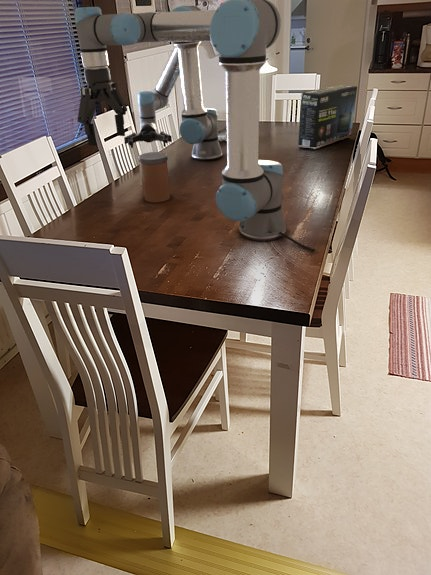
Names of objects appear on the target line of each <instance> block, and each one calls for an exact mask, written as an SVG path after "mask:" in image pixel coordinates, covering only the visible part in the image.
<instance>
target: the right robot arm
mask: <svg viewBox="0 0 431 575" xmlns="http://www.w3.org/2000/svg"><path fill="white" fill-rule="evenodd" d="M74 19H75V20H74V21H75V27H76V32H77V38H78V43H79V50H80V55H81V62H82V67H83V68H84V70H83V73H84V80H85V82H86V83H87V87H80V100H79V101H80V102H79V108H78V113H77V114H78V115H77V123H80V124H82V125H83V128H84V132H85V136H86V137H87V143H88V146H91V147H96V146H98V142H97V138H96V131H95V125H94V123H92V121H93V119H94V115H95V113H96V109H97V107H98V105H99V104H100V102H101V103H102V102H103V101H106V102H107V104H108V105H109V107H111V109H112V110H113V111H114V113H115V115H114V121H115V128H116V134H117V136H118V137H126V130H125V118H124V116H125V115H127V112H128V108H127V105H126V103H125V101H124V99H123V96H122V94H121V92H120V90H119V86H118V82H116V81H114V82H113V81H112V78H111V71H110V68H109V67H108V66H109V65H110V63H109V56H108V50H107V46H124V47H125V46H133V45H136V44H139V43H159V42H160V43H161V42H162V43H165V42H166V43H167V42H170V43H171V42H172V43H173V42H201V43H202V42H206V43H207V42H210V43H211V45H212V46H213V47H214V48H215V51H216V52H217V53H218V65H220V66H221V67H222V68H223V70H224V72H225V74H224V75H225V114H226V117H225V118H226V128H227V129H226V132H227V141H226V159H227V160H226V161H227V164H226V166H225V167H224V168H223V169H222V171H221V180H222V182H221V183H222V185H220V187H218V189H217V191H216V194H215V202H216V206H217V208H218V211H219V212H220V213H221V214H223V216H224V217H225V218H226V219H228V220H230V221H233V222H239V226H238V232H239V235H240V236H241V237H242V238H244V239H247V240H250V241H254V242H271V241H277V240H279V239H281V238H283V237H284V238H286V239H288V240H289V241H291V242H292V243H293V244H296V245H297V246H299V247H300V248H304V249H305V250H309V251H311V252H315V251H316V249H315V248H313V247H310V246H308V245H305V244H303V243H300V242H298V241H297V240H296V239H294V238H292V237H291V236H289V235H287V223H286V221H285V216H284V214H283V210H282V200H283V183H284V168H283V164H282V163H280V162H279V161H275V160H270V159H259V155H260V154H259V152H260V150H259V149H260V148H259V146H260V144H259V143H260V141H259V140H260V84H261V82H260V80H261V79H260V76H261V75H260V74H261V68H262V67H263V66H264V65H265V64H266V63H267V49H269V48H270V47H272V46H273V45H274V44H275V43H276V41H277V40H278V38H279V36H280V33H281V29H282V28H281V27H282V18H281V14H280V11H279V9H278V7H276V6H275V4H274V3H273V2H271V1H270V0H226V1H224V2H222V3H221V4H219V6H218V7H217V8H216V9H206V10H205V9H203V10H202V9H201V11H179V12H171V11H159V12H150V11H149V12H138V13H133V12H132V13H126V12H124V13H110V14H103V13H102V9H101V8H100V6H86V7H84V6H83V7H81V6H80V7H76V8H75V10H74Z"/></svg>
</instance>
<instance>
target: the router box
mask: <svg viewBox="0 0 431 575" xmlns="http://www.w3.org/2000/svg"><path fill="white" fill-rule="evenodd" d="M357 93H358V86H356V85H350V84H339V85H338V84H337V85H334V86H328V87H324V88H318V89H314V90H309V91H304V92H301V93H300V109H299V110H300V111H299V124H298V137H297V146H298V145H302V146H307V147H317V146H320V145H323V144H325V143H328V142H331V141H333V140H336V139H338V138H341V137H344V136H347V135H351V136H352V133H353V132H352V131H353V125H354V115H355V109H356V99H357ZM311 151H313V150H312V149H311Z"/></svg>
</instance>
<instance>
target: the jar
mask: <svg viewBox="0 0 431 575" xmlns="http://www.w3.org/2000/svg"><path fill="white" fill-rule="evenodd" d="M139 164H140V172H141V180H142V188H143V196H144V200H145V201H146V202H149V203H163V202H166V201H168V200H170V199H171V192H170V179H169V169H168V160H167V161H166V162H163V163H159V164H142V163H140V162H139Z"/></svg>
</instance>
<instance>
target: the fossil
mask: <svg viewBox="0 0 431 575" xmlns="http://www.w3.org/2000/svg"><path fill="white" fill-rule="evenodd" d="M219 141H220V142H227V131H225V132H222V133H220V134H219V133H218V142H219Z"/></svg>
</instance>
